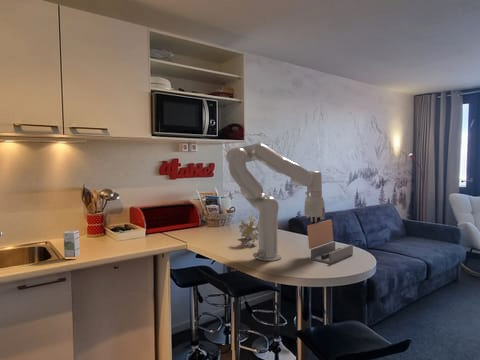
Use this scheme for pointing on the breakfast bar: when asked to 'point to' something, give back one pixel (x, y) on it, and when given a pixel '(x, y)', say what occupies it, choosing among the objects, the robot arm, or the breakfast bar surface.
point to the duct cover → (320, 233)
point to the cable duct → (333, 255)
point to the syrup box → (71, 243)
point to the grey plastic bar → (327, 254)
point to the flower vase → (249, 231)
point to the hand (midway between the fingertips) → (315, 229)
